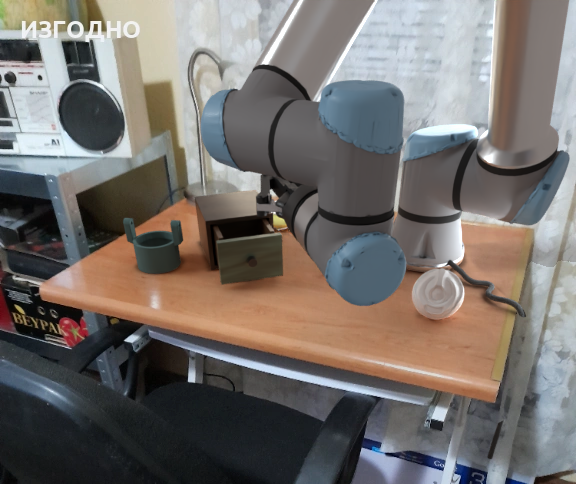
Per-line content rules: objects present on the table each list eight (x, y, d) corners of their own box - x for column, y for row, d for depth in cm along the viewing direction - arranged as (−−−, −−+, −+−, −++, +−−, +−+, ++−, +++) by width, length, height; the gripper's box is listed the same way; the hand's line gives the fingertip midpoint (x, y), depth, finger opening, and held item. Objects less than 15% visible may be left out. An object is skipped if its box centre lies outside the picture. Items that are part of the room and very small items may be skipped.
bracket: (189, 266, 102) (183, 221, 96) (143, 278, 98) (134, 231, 93) (172, 250, 108) (166, 207, 102) (129, 260, 104) (119, 216, 99)
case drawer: (284, 278, 95) (284, 237, 90) (222, 288, 93) (218, 246, 88) (266, 248, 105) (264, 210, 101) (209, 256, 103) (205, 217, 98)
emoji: (273, 221, 110) (320, 205, 114) (246, 205, 118) (291, 190, 122) (275, 239, 112) (321, 222, 117) (248, 222, 120) (292, 207, 125)
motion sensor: (405, 323, 84) (411, 279, 79) (412, 300, 90) (419, 258, 85) (457, 331, 82) (466, 287, 77) (461, 307, 88) (470, 265, 83)
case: (274, 261, 103) (273, 212, 97) (211, 270, 100) (205, 221, 94) (258, 234, 113) (256, 189, 107) (200, 242, 110) (194, 196, 105)
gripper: (270, 258, 63) (232, 195, 81) (371, 244, 66) (312, 187, 84) (268, 195, 59) (228, 143, 77) (376, 183, 61) (313, 136, 79)
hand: (272, 166), depth 80 cm, fingers closed
